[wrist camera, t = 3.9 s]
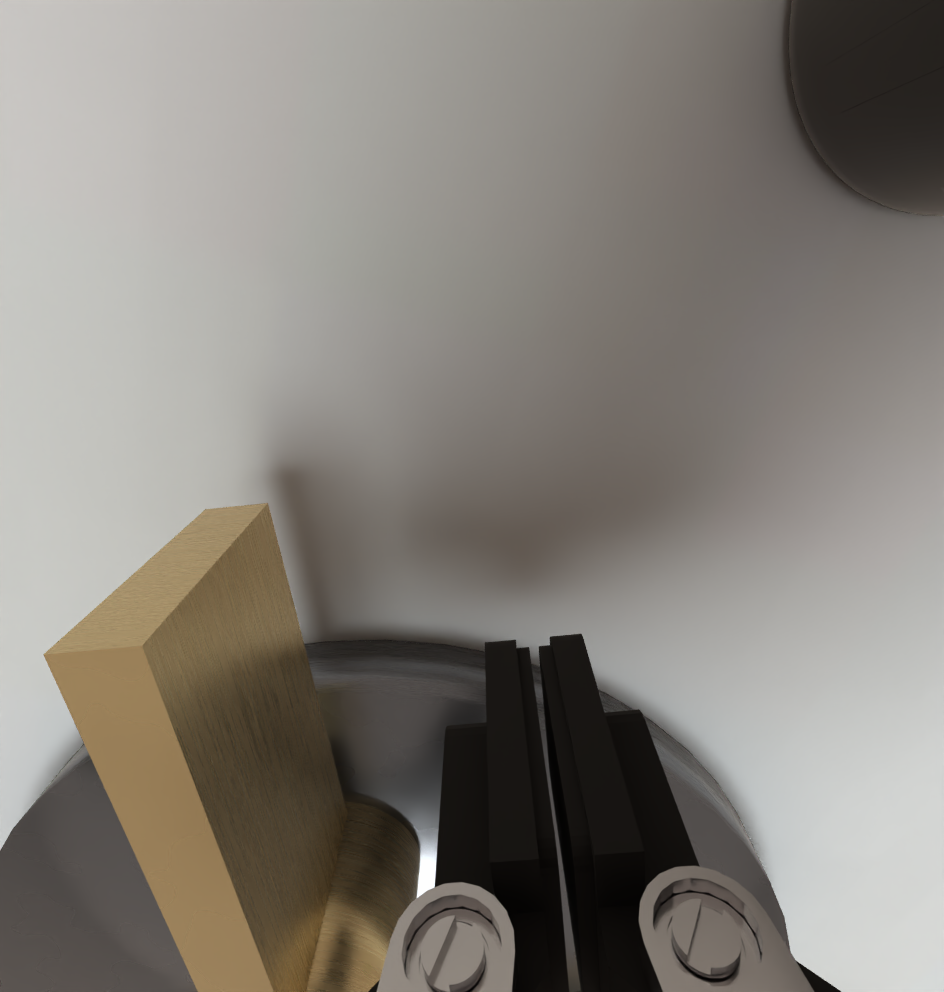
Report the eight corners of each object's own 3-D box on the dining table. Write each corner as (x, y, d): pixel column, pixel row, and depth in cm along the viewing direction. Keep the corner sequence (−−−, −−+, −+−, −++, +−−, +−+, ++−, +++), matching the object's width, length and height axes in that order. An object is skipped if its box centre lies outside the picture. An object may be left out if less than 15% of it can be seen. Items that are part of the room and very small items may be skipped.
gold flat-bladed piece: (430, 905, 16) (408, 1201, 11) (284, 914, 16) (196, 1208, 11) (346, 488, 11) (243, 662, 6) (145, 508, 11) (-109, 693, 6)
